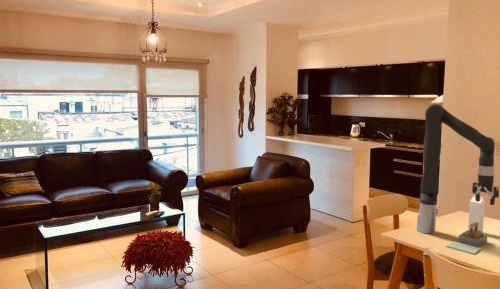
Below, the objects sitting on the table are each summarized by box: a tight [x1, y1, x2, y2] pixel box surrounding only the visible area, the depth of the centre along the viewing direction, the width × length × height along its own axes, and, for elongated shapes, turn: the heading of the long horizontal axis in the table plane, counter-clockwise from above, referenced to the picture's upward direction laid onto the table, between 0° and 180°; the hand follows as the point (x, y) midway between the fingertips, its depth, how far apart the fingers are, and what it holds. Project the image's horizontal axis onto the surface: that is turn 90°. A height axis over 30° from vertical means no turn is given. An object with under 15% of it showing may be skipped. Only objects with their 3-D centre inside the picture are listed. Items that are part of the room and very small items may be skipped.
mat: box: [445, 240, 482, 255], centre depth 219 cm, size 14×10×1 cm
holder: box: [458, 229, 488, 248], centre depth 227 cm, size 10×12×4 cm
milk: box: [467, 194, 486, 234], centre depth 242 cm, size 6×6×22 cm
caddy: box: [464, 222, 483, 239], centre depth 227 cm, size 6×8×11 cm
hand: (484, 203), depth 225 cm, fingers open, 8 cm apart
